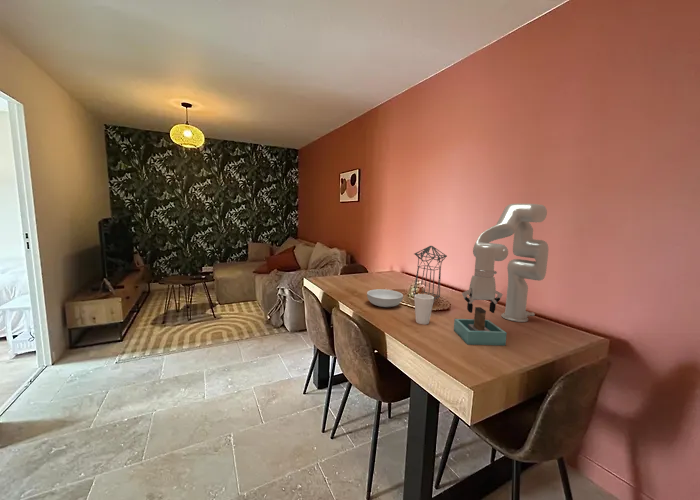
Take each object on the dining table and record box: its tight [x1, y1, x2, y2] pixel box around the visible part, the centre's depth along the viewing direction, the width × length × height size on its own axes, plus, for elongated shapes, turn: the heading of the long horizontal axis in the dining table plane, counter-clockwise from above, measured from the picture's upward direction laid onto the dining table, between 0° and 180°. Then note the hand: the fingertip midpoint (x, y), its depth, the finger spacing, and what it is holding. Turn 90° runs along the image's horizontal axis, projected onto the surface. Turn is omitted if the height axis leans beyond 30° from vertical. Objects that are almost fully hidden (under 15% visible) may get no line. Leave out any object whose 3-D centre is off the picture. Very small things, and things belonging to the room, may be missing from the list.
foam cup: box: [413, 293, 435, 325], centre depth 155 cm, size 10×9×13 cm
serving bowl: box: [366, 288, 404, 308], centre depth 182 cm, size 21×21×7 cm
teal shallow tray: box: [453, 318, 508, 346], centre depth 138 cm, size 16×16×6 cm
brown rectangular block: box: [474, 306, 487, 330], centre depth 137 cm, size 2×5×12 cm, turn 2°
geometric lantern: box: [412, 245, 448, 301], centre depth 189 cm, size 16×16×35 cm
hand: (480, 312), depth 137 cm, fingers open, 9 cm apart
